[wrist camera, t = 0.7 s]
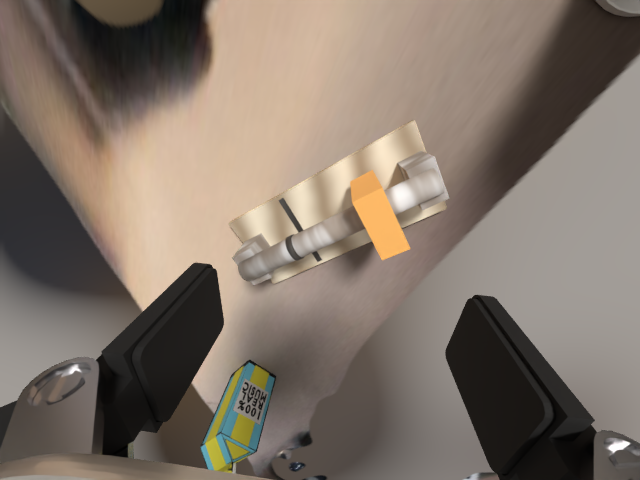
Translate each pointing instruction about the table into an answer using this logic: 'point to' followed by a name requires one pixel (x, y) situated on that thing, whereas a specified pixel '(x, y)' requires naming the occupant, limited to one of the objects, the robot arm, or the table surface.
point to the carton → (238, 418)
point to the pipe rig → (337, 208)
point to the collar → (377, 215)
